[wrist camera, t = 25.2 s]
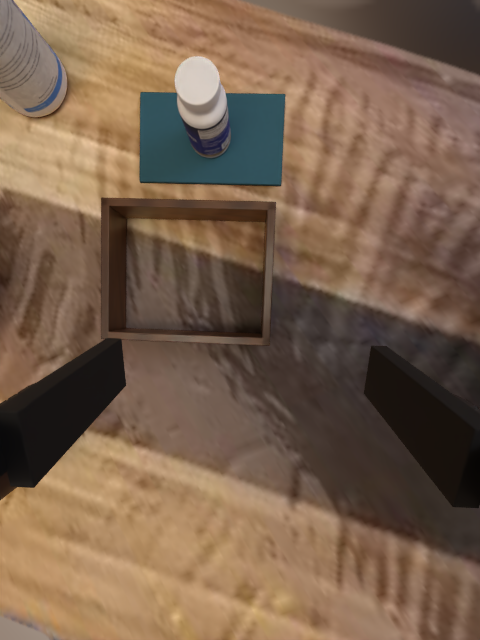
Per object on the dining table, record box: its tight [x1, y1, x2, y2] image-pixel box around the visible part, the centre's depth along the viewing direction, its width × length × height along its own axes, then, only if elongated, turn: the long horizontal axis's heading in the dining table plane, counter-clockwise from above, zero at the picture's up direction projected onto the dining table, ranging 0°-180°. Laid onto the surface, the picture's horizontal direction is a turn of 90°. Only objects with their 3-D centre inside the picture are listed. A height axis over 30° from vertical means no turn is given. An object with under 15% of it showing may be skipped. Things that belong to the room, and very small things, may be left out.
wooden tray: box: [101, 198, 276, 346], centre depth 37 cm, size 22×18×5 cm
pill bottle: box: [175, 56, 231, 158], centre depth 32 cm, size 6×6×10 cm
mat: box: [140, 92, 285, 186], centre depth 38 cm, size 20×12×1 cm, turn 88°
